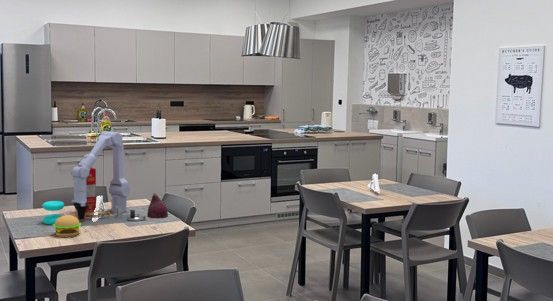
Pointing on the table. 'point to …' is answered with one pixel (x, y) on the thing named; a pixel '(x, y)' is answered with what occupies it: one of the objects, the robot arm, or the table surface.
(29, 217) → the table surface
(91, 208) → the food packaging
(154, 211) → the vegetable
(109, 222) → the board
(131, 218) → the handwheel
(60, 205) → the cyan stacked discs
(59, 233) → the hamburger
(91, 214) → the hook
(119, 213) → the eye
